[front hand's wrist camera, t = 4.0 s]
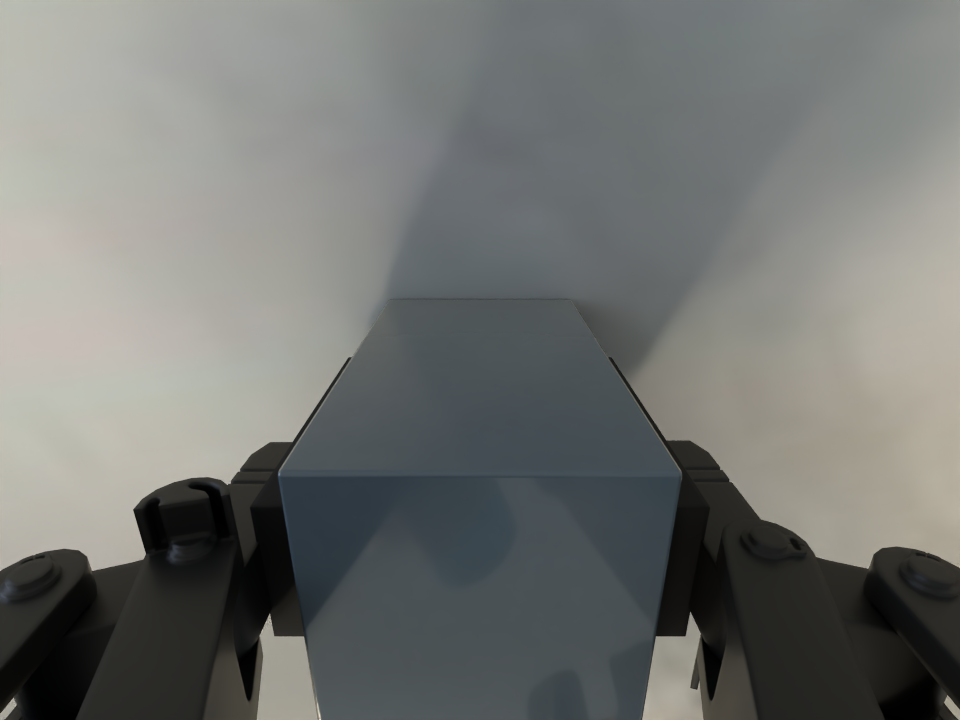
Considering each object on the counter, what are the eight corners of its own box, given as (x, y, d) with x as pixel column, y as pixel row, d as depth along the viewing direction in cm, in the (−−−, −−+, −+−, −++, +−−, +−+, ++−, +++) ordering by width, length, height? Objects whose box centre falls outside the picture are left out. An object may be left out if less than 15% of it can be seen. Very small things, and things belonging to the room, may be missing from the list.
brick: (571, 298, 14) (685, 472, 6) (560, 468, 16) (637, 762, 8) (388, 298, 14) (274, 472, 6) (399, 468, 16) (323, 762, 8)
